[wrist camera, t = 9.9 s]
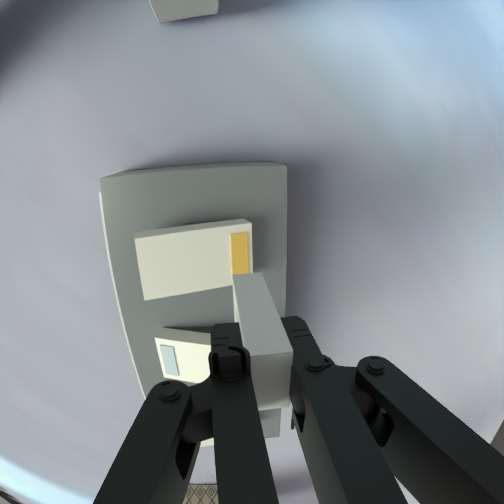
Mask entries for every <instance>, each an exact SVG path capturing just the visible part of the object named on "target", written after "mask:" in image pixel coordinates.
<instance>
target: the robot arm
mask: <svg viewBox="0 0 504 504" xmlns="http://www.w3.org/2000/svg"><path fill="white" fill-rule="evenodd" d="M232 282H233V301H234V319H235V322H234V323H220V324H215V325H214V326H213V328H212V329H211V331H210V335H211V352H210V353H209V356H208V362H209V369H210V375H209V377H208V378H207V379H206V380H204V381H203V382H201V383H198V384H196V385H192V386H189V387H188V386H187V385H186V384H184V383H183V382H180V381H177V380H166V381H162V382H160V383H158V384H156V385H154V387H153V388H152V389H151V390H150V392H149V394H148V396H147V398H146V400H145V401H144V403H143V405H142V407H141V409H140V411H139V413H138V415H137V417H136V419H135V421H134V423H133V425H132V426H131V428H130V430H129V432H128V434H127V436H126V438H125V440H124V442H123V444H122V446H121V448H120V450H119V452H118V454H117V456H116V458H115V460H114V462H113V464H112V466H111V468H110V470H109V472H108V474H107V476H106V478H105V480H104V482H103V484H102V486H101V488H100V490H99V492H98V494H97V496H96V498H95V500H94V502H93V504H183V502H184V498H185V495H186V492H187V488H188V485H189V482H190V478H191V475H192V472H193V468H194V465H195V462H196V458H197V455H198V452H199V448H200V445H201V441H204V440H207V439H211V438H214V452H215V467H216V480H217V492H218V503H219V504H279V502H278V498H277V493H276V489H275V484H274V480H273V476H272V471H271V467H270V462H269V457H268V453H267V448H266V444H265V439H264V434H263V430H262V425H261V420H260V415H259V411H260V410H269V409H277V408H284V407H289V404H290V399H291V402H292V406H293V410H292V420H291V429H294V425H295V427H296V431H297V434H298V437H299V440H300V444H301V447H302V450H303V453H304V457H305V460H306V463H307V466H308V469H309V473H310V476H311V479H312V482H313V485H314V489H315V492H316V495H317V498H318V501H319V504H408V503H407V501H406V499H405V497H404V495H403V493H402V491H401V489H400V487H399V485H398V483H397V481H396V479H395V477H396V478H397V479H398V480H399V481H400V482H401V484H402V485H403V486H404V487H405V488H406V489H407V490H408V491H409V492H410V493H411V494H412V495H413V496H414V498H415V499H416V500H417V501H418V502H419V503H420V504H504V456H503V455H502V454H501V453H499V452H498V451H497V450H496V449H495V448H493V447H492V446H491V445H490V444H489V443H487V442H486V441H485V440H484V439H483V438H481V437H480V436H479V435H478V434H477V433H475V432H474V431H473V430H472V429H471V428H469V427H468V426H467V425H466V424H465V423H463V422H462V421H461V420H460V419H459V418H457V417H456V416H455V415H454V414H453V413H451V412H450V411H449V410H448V409H447V408H445V407H444V406H443V405H442V404H441V403H439V402H438V401H437V400H436V399H435V398H433V397H432V396H431V395H430V394H429V393H427V392H426V391H425V390H424V389H423V388H421V387H420V386H419V385H418V384H417V383H415V382H414V381H413V380H412V379H410V378H409V377H408V376H407V375H406V374H404V373H403V372H402V371H401V370H400V369H398V368H397V367H396V366H395V365H394V364H392V363H391V362H390V361H388V360H387V359H385V358H382V357H379V356H369V357H365V358H363V359H361V360H360V361H359V363H358V365H357V367H345V366H338V365H335V363H334V362H333V361H332V360H331V358H329V357H327V356H325V355H322V353H321V351H320V349H319V347H318V345H317V344H316V342H315V340H314V338H313V336H312V334H311V332H310V330H309V328H308V326H307V324H306V322H305V321H304V320H302V319H301V318H299V317H298V316H291V317H281V318H280V317H279V314H278V312H277V309H276V307H275V304H274V302H273V299H272V297H271V294H270V292H269V289H268V287H267V284H266V282H265V279H264V277H263V274H262V272H261V273H247V274H232ZM394 476H395V477H394Z"/></svg>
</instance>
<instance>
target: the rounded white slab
mask: <svg viewBox="0 0 504 504" xmlns="http://www.w3.org/2000/svg"><path fill="white" fill-rule="evenodd" d="M148 1H149V3H150V5H151V8H152V10H153V12H154V15H155V17H156V19H157V21H158V22H159V23H165V22H170V21H175V20H181V19H186V18H192V17H199V16H205V15H213V14H217V12H218V6H219V0H148Z"/></svg>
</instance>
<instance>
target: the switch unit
mask: <svg viewBox="0 0 504 504" xmlns="http://www.w3.org/2000/svg"><path fill="white" fill-rule="evenodd" d="M100 186H101V191H99V198H100V206H101V214H102V222H103V229H104V236H105V242H106V248H107V254H108V260H109V265H110V271H111V276H112V281H113V286H114V291H115V295H116V300H117V304H118V308H119V313H120V317H121V321H122V325H123V329H124V333H125V337H126V340H127V344H128V348H129V351H130V355H131V358H132V361H133V365H134V368H135V371H136V375H137V378H138V381H139V384H140V387H141V390H142V393H143V396H144V399H145V400H146V398H147V396H148V394H149V392H150V390H151V389H152V388H153V387H154V385H156V384H158V383H160V382H162V381H166V380H176V379H171V378H166V377H164V375H163V371H162V367H161V363H160V359H159V355H158V350H157V346H156V341H155V336H156V335H157V334H158V333H159V331H160V330H161V329H162V327H163V328H170V329H178V330H186V331H194V332H202V333H210V331H211V329H212V328H213V326H214V325H215V324H220V323H234V322H235V319H234V301H233V285H230V286H225V287H220V288H214V289H209V290H203V291H198V292H192V293H186V294H181V295H175V296H169V297H163V298H157V299H151V300H145V301H144V296H143V290H142V284H141V279H140V273H139V266H138V260H137V253H136V246H135V239H134V233H135V232H142V231H149V230H156V229H163V228H171V227H178V226H186V225H193V224H201V223H209V222H217V221H225V220H233V219H242V218H244V219H246V220H247V221H249V222H251V223H252V259H253V273H261V272H262V274H263V277H264V279H265V282H266V284H267V287H268V289H269V292H270V294H271V297H272V299H273V302H274V304H275V307H276V309H277V312H278V314H279V317H280V318H281V317H285V309H286V269H287V166H286V165H283V164H279V163H275V162H241V163H218V164H201V165H186V166H173V167H162V168H151V169H142V170H132V171H124V172H119V173H116V174H113V175H109V176H106V177H103V178H100ZM177 381H180V382H183V383H184V384H186V385H187V386H188V387H189V386H192V385H196V384H198V383H193V382H187V381H182V380H177ZM259 415H260V420H261V425H262V430H263V434H264V438H271V437H279V435H280V419H281V408H277V409H269V410H260V411H259Z"/></svg>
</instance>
